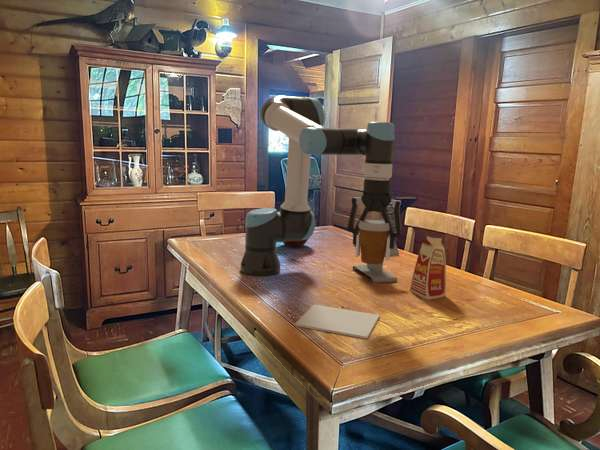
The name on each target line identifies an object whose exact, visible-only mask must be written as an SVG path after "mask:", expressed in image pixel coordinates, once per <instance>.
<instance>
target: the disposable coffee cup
mask: <svg viewBox="0 0 600 450" xmlns="http://www.w3.org/2000/svg"><path fill="white" fill-rule="evenodd" d="M358 226H359V233H360V258H361V262H362V263H364V264H365V265H367V264H372V265H376V264H382V263H383V264H384V262H385V258H386V257H385V251H386V247H387V237H388V236H389V232H388V231H389V228H390V227H389V223H385V221H384V218H373V217H372V218H371V217H370V218H367V217H366V218H365V220H364V221H361V220H360V222H359V225H358Z"/></svg>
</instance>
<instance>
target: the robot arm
mask: <svg viewBox="0 0 600 450" xmlns="http://www.w3.org/2000/svg"><path fill="white" fill-rule="evenodd" d="M259 115H260V119H261V122H262V123H263V125H265V127H267V128H268V129H270V130H271V131H275V132H278V131H279V132H280V133H282V134H284V135H285V136H286V137H287V138H288V148H287V149H288V150H287V163H286V178H285V179H286V180H285V191H284V192H285V193H284V202H283V203H282V204H281V205H280V208H279V211H278V210H277V209H276V208H274V207H262V208H256V209H253V210H250V211H249V212H247V213H246V215H245V223H244V226H245V228H244V229H245V237H244V239H245V240H244V241H245V242H244V243H245V249H244V253H243V255H242V260H241V263H240V272H241V271H242V272H241V273H243V274H245V273H246V275H248V274H249V275H250V276H255V275H256V276H257V277H259V276H260V277H261V276H263V277H264V276H273V275H277V274H279V273H281V263H280V260H279V255H278V252H277V243H283V242H287V241H301V240H306V239H308V238H309V237H310V238H311V237H312V235H313V234H314V232H315V229H316V218H315V217H316V216H315V213H314V212H313V211H312V210H311V206H310V204H309V205H308V204H307V200H308V195H309V184H310V183H309V181H310V172H311V171H310V170H311V158H312V156H364V157H365V159H364V172H363V173H364V175H363V176H364V177H365V179H364V180H363V191H362V195H361V196H358V197H356V196H354V197H352V198H351V211H350V215H349V218H348V223H347V227H346V230H347V232H350V233H352V244H353V246H354V245H356V247H355V257H356V258H359V256H361V246H360V231H359V226H358V225H359V222H360V220H361V221H364V220H365V218H367V217H368V214H369V213H371V212H376V213H380V214H381V216H382V217H383V218H382V219H384V221H385V223H389V227H390V228H389V231H388V232H389V235H390V236H388V237H387V247H386V257H385V261H389V260H390V259H391V257H390V249H393V248H394V245H395V243H396V240H395V239H396V238H397V237H401V236H402V234H403V229H402V219H401V210H400V209H401V205H402V201H401V200H400V199H398V200H397V199H392V196H391V190H392V189H391V188H392V181H391V178H392V176H393V159H394V149H395V148H394V146H395V140H396V137H395V124H394V123H393V122H387V121H386V122H385V121H370V122H368V123H367V126H366V129H365V128H364V129H363V128H362V129H361V128H340V127H339V128H338V127H337V128H335V127H326V126H325V127H324V125H325V119H326V117H325V110H324V106H323V104H322V102H320V100H318V99H317V98H315V97H308V96H293V95H292V96H291V95H283V94H282V95H275V96H271V97H269V98H268V99H267V100H266V101H265V102H264V103H263V104H262V106H261V108H260V114H259ZM361 203H362V204H363V205H364V209H363V211H362V213H361V215H360V217H359V219H358V221H357V222H356V225H355V221H356V217H357V213H358V209H359V205H360V204H361ZM389 205H391V206H392V208H393V211H394V213H393V214H394V222H395V229H394V226H393V223H392V221H391V218H390V216H389V215H390V214H389V211H388V209H387V208H388V206H389ZM354 226H355V227H354ZM310 238H309V239H310ZM309 239H308V240H309Z"/></svg>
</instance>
